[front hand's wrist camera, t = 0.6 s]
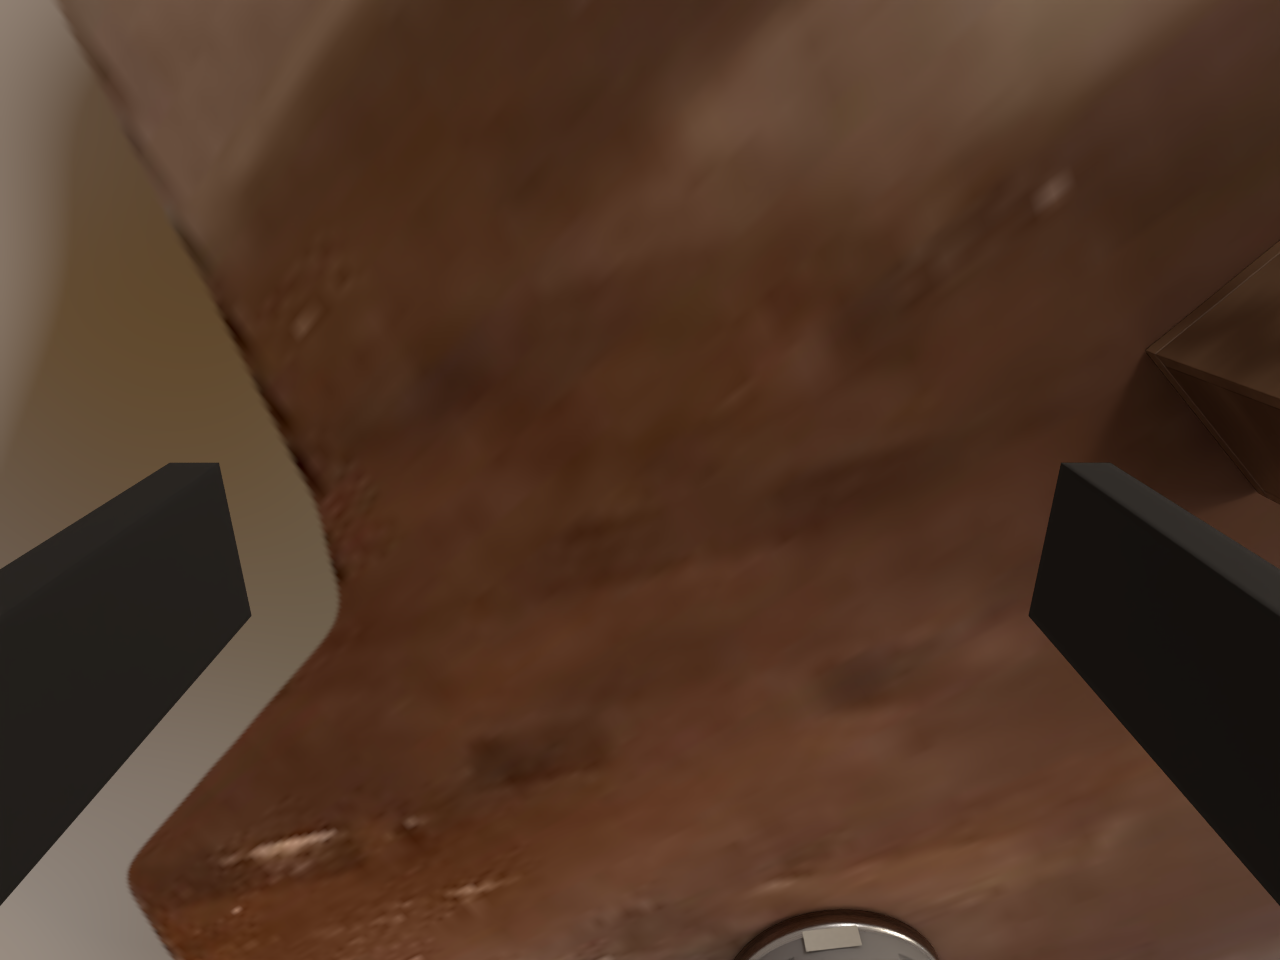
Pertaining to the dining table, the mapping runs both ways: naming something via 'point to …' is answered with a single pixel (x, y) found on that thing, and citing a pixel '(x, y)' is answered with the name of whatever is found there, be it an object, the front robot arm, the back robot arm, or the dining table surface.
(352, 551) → the dining table surface
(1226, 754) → the front robot arm
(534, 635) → the dining table surface
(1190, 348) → the taupe rectangular block
